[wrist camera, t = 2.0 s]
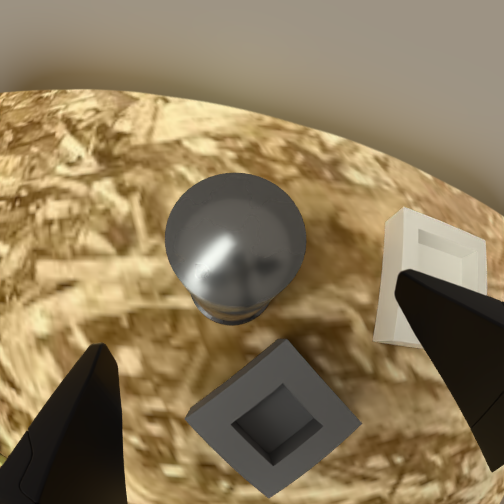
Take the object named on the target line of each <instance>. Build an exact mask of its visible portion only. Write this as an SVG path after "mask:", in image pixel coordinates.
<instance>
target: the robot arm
mask: <svg viewBox="0 0 504 504" xmlns="http://www.w3.org/2000/svg"><path fill="white" fill-rule="evenodd" d="M394 295H395V299H396V301H397V303H398V305H399V306H400V308H401V310H402V312H403V314H404V315H405V317H406V319H407V321H408V323H409V325H410V327H411V329H412V330H413V332H414V334H415V336H416V337H417V339H418V341H419V342H420V344H421V345H422V347H423V348H424V350H425V351H426V353H427V354H428V356H429V358H430V359H431V361H432V362H433V364H434V366H435V367H436V369H437V371H438V372H439V374H440V375H441V377H442V379H443V380H444V382H445V384H446V386H447V387H448V389H449V391H450V392H451V394H452V396H453V398H454V399H455V401H456V403H457V405H458V406H459V408H460V410H461V412H462V414H463V416H464V417H465V419H466V421H467V423H468V425H469V427H470V428H471V431H472V433H473V435H474V437H475V439H476V441H477V443H478V445H479V447H480V449H481V451H482V453H483V455H484V457H485V460H486V462H487V464H488V466H489V468H490V470H491V472H494V471H495V470H497V469H498V468H500V467H501V466H503V465H504V302H503V301H502V302H501V301H500V300H497V299H494V298H492V297H489V296H486V295H484V294H481V293H478V292H475V291H473V290H470V289H467V288H464V287H462V286H459V285H456V284H453V283H450V282H448V281H445V280H442V279H439V278H436V277H433V276H430V275H427V274H425V273H422V272H419V271H416V270H413V269H406V270H403V271H401V272H399V274H398V276H397V281H396V286H395V291H394ZM0 504H128V503H127V495H126V485H125V473H124V458H123V433H122V407H121V398H120V387H119V375H118V366H117V363H116V360H115V359H114V357H113V356H112V354H111V352H110V351H109V349H108V347H107V346H106V344H104V343H95V344H91V345H90V346H89V347H88V348H87V350H86V351H85V352H84V354H83V355H82V356H81V357H80V359H79V360H78V361H77V362H76V364H75V365H74V366H73V368H72V369H71V370H70V371H69V373H68V374H67V375H66V377H65V378H64V379H63V381H62V382H61V383H60V385H59V386H58V387H57V389H56V390H55V391H54V393H53V394H52V395H51V397H50V398H49V400H48V401H47V402H46V404H45V405H44V406H43V408H42V409H41V411H40V412H39V413H38V415H37V416H36V418H35V419H34V421H33V422H32V423H31V425H30V426H29V428H28V431H26V432H25V434H24V435H23V437H22V438H21V440H20V441H19V442H18V444H17V445H16V447H15V448H14V450H13V451H12V453H11V454H10V455H9V457H8V458H7V459H6V461H5V462H4V463H3V465H2V466H1V467H0Z"/></svg>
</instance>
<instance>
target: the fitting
mask: <svg viewBox="0 0 504 504" xmlns="http://www.w3.org/2000/svg"><path fill="white" fill-rule="evenodd" d="M165 247H166V253H167V256H168V260H169V262H170V265H171V267H172V269H173V271H174V272H175V274H176V275H177V277H178V278H179V280H180V281H181V282H182V284H183V285H184V286H185V287H186V289H187V290H188V291H189V292H190V294H191V296H192V299H193V301H194V303H195V305H196V306H197V308H198V309H199V310H200V311H201V312H202V313H203V314H204V315H205V316H206V317H207V318H209V319H210V320H212V321H214V322H216V323H220V324H223V325H240V324H244V323H247V322H249V321H251V320H253V319H255V318H256V317H257V316H259V315H260V314H261V313H262V312H263V311H264V310H265V309H266V307H267V306H268V304H269V302H270V301H271V300H272V299H273V298H274V297H275V296H276V295H277V294H279V293H280V292H281V291H282V290H283V289H284V288H285V287H286V286H287V285H288V284H289V283H290V282H291V281H292V279H293V278H294V277H295V275H296V274H297V272H298V270H299V269H300V266H301V264H302V261H303V259H304V255H305V250H306V231H305V225H304V222H303V219H302V216H301V214H300V212H299V210H298V208H297V206H296V205H295V203H294V202H293V201H292V199H291V198H290V197H289V196H288V195H287V194H286V193H285V192H284V191H283V190H282V189H281V188H279V187H278V186H276V185H275V184H273V183H272V182H270V181H268V180H266V179H263V178H261V177H258V176H255V175H251V174H245V173H225V174H219V175H215V176H212V177H209V178H207V179H204V180H202V181H200V182H198V183H197V184H195V185H194V186H192V187H191V188H190V189H188V190H187V191H186V192H185V193H184V194H183V195H182V196H181V197H180V199H179V200H178V201H177V202H176V204H175V206H174V207H173V209H172V211H171V213H170V216H169V218H168V221H167V225H166V231H165Z"/></svg>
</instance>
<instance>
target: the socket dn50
mask: <svg viewBox="0 0 504 504" xmlns="http://www.w3.org/2000/svg"><path fill="white" fill-rule="evenodd" d="M406 269H413V270H416V271H419V272H422V273H425V274H427V275H430V276H433V277H436V278H439V279H442V280H445V281H448V282H450V283H453V284H456V285H459V286H462V287H464V288H467V289H470V290H473V291H475V292H478V293H481V294H484V295H486V296H487V260H486V243H485V240H483V239H481V238H479V237H477V236H474V235H472V234H470V233H468V232H465V231H463V230H461V229H459V228H456V227H454V226H452V225H449V224H447V223H444V222H442V221H439V220H437V219H434V218H432V217H429V216H427V215H424V214H422V213H419V212H417V211H414V210H411V209H409V208H406V207H403V208H401V209H400V210H399V211H398V212H397V213H395V214H394V215H393V216H392V217H391V218H389V219H388V220H387V221H386V222H385V238H384V253H383V265H382V276H381V285H380V294H379V302H378V309H377V316H376V323H375V329H374V335H373V342H379V343H386V344H392V345H399V346H406V347H413V348H421V349H424V348H423V347H422V345H421V344H420V342H419V341H418V339H417V337H416V336H415V334H414V332H413V330H412V329H411V327H410V325H409V323H408V321H407V319H406V317H405V315H404V314H403V312H402V310H401V308H400V306H399V305H398V303H397V301H396V299H395V295H394V291H395V286H396V281H397V276H398V274H399V272H401V271H403V270H406Z"/></svg>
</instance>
